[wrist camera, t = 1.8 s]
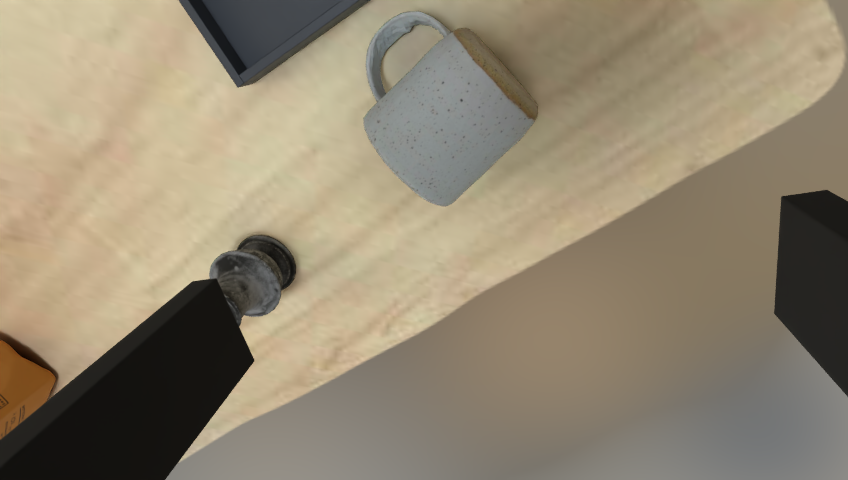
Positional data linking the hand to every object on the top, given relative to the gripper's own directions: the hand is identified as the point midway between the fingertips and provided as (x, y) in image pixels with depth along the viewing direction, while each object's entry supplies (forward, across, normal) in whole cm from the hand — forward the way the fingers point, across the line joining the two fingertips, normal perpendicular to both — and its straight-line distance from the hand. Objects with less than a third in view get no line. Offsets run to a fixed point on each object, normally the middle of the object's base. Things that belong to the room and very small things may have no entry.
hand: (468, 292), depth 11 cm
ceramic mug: (+23, -3, +2) cm, 23 cm away
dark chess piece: (+23, -21, -8) cm, 32 cm away
